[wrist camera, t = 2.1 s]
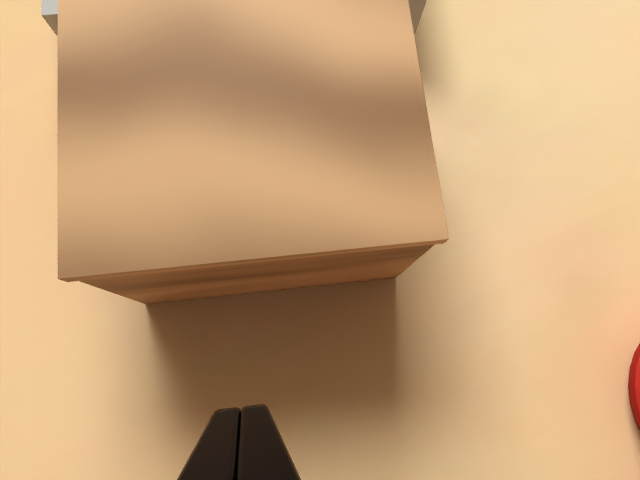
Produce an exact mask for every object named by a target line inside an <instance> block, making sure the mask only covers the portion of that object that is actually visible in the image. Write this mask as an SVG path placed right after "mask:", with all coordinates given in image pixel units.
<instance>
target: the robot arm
mask: <svg viewBox="0 0 640 480" xmlns="http://www.w3.org/2000/svg"><path fill="white" fill-rule="evenodd" d="M177 480H301V479H300V476H299V474H298V472H297V470H296V468H295V466H294V463H293V461H292V459H291V457H290V455H289V453H288V450H287V448H286V446H285V444H284V442H283V440H282V437H281V435H280V433H279V431H278V429H277V427H276V424H275V422H274V420H273V418H272V416H271V414H270V411H269V409H268V407H267V406H266V405H264V404H260V405H252V406H245V407H243V408H242V410H240V408H236V407H235V408H227V409H219V410H217V411H215V412H214V414H213V415H212V417H211V419H210V420H209V422H208V424H207V426H206V428H205V430H204V431H203V433H202V435H201V437H200V439H199V441H198V442H197V444H196V446H195V448H194V450H193V452H192V453H191V455H190V457H189V459H188V461H187V462H186V464H185V466H184V468H183V470H182V472H181V473H180V475H179V477H178V479H177Z"/></svg>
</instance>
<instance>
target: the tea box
mask: <svg viewBox="0 0 640 480" xmlns="http://www.w3.org/2000/svg"><path fill="white" fill-rule="evenodd" d="M448 239H449V238H448V232H447V226H446V220H445V214H444V208H443V202H442V196H441V190H440V185H439V179H438V173H437V167H436V161H435V155H434V149H433V143H432V138H431V132H430V126H429V120H428V114H427V108H426V102H425V96H424V91H423V85H422V79H421V73H420V67H419V61H418V55H417V49H416V44H415V38H414V32H413V26H412V20H411V14H410V8H409V2H408V0H58V279H60V280H63V281H66V282H71V281H80V282H83V283H86V284H89V285H92V286H95V287H98V288H101V289H104V290H107V291H109V292H112V293H115V294H118V295H121V296H124V297H127V298H130V299H133V300H136V301H138V302H141V303H144V304H150V303H159V302H169V301H178V300H188V299H197V298H207V297H216V296H226V295H235V294H244V293H254V292H263V291H273V290H282V289H292V288H301V287H310V286H320V285H329V284H339V283H348V282H358V281H367V280H377V279H386V278H395V277H397V276H398V275H399V274H400V273H401V272H403V271H404V270H405V269H406V268H407V267H409V266H410V265H411V264H412V263H413V262H414V261H416V260H417V259H418V258H419V257H420V256H422V255H423V254H424V253H425V252H426V251H428V250H429V249H430V248H431V247H432V246H434V245H435V244H442V243H444V242H446V241H447V240H448Z"/></svg>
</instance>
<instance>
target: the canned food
mask: <svg viewBox="0 0 640 480" xmlns="http://www.w3.org/2000/svg"><path fill="white" fill-rule="evenodd" d="M629 394H630V403H631V406H632V410H633V413H634V417H635V420H636V422H637V424H638V426H639V429H640V344H639V346H638V347H637V349H636V351H635V353H634V356H633V359H632V363H631V366H630V373H629Z"/></svg>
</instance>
